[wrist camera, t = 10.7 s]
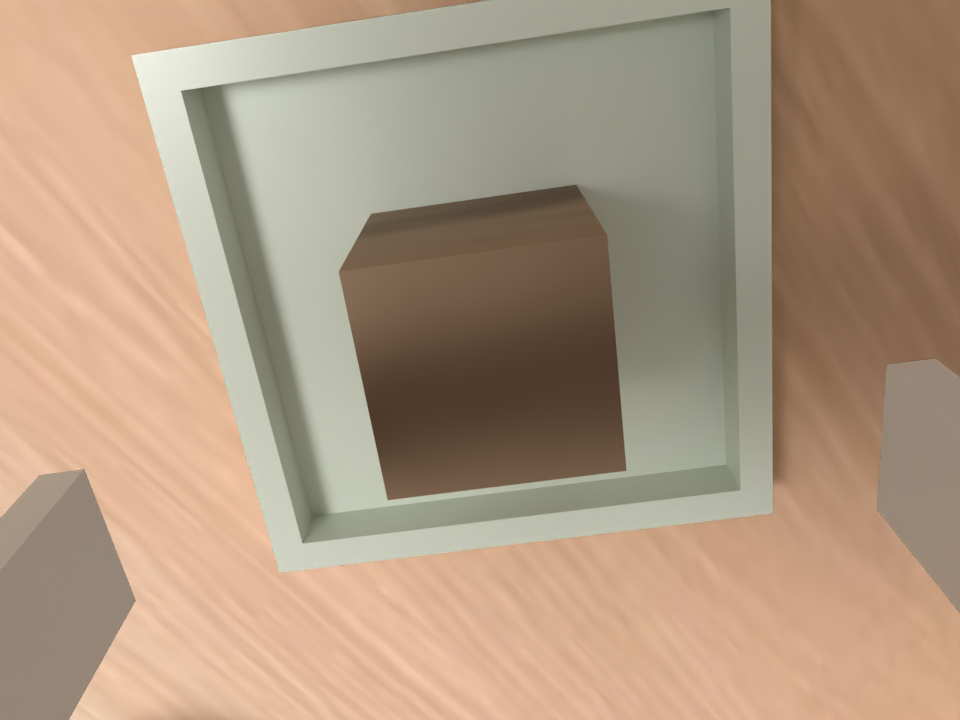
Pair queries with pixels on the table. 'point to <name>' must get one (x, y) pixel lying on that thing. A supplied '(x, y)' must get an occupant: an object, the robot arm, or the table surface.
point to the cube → (487, 342)
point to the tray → (471, 175)
